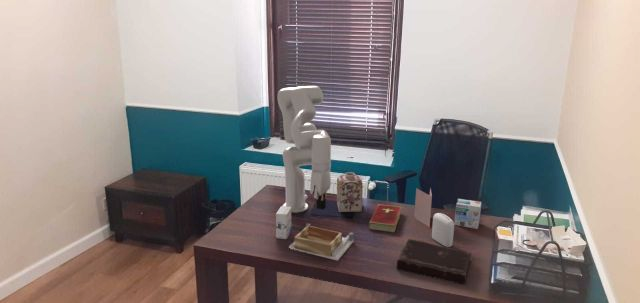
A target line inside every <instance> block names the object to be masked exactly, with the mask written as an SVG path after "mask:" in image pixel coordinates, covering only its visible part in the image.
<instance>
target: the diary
mask: <svg viewBox="0 0 640 303" xmlns="http://www.w3.org/2000/svg"><path fill="white" fill-rule="evenodd" d="M471 256H472V251H471V252H470V251H466V250H461V249H455V248H451V247H446V246H443V245H442V246H441V245H437V244H435V243H434V244H433V243H430V242H427V241H422V240H418V239H417V240H416V239H411V238H408V239H407V241H406V242H405V245H404V246H403V248H402V250H401V252H400V254H399V257H398V258H397V260H396V270H399V271H403V270H404V272H409V273H412V272H413V274H418V275H421V274H422V276H425V275H426V276H425V277H429V276H431V277H430V278H434V277H436V278H435V279H438V278H440V279H439V280H443V279H444V281H447V280H448V282H451V281H453V282H452V283H456V282H457V283H456V284H461V285H464V284H465V285H466V277H467V272H469V268H470V267H471V266H470V265H471V262H472V260H471Z"/></svg>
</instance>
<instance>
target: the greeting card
mask: <svg viewBox="0 0 640 303" xmlns="http://www.w3.org/2000/svg"><path fill="white" fill-rule="evenodd" d="M415 189H416V190H415V201H414V202H415V203H414V215H413V216H414V217H413V218H414V219H415V220H418V221H419V222H421V223H422V224H424V225H425V226H427V227H428V228H430V227H431V226H430V225H431V215H432V214H431V212H432V204H433V201H434V197H433V192H432V189H431V187H430V188H429V189H430V190H429V194H428V193H426V192H424V191H422V190H420V189H419V188H417V187H416V188H415Z"/></svg>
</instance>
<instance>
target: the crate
mask: <svg viewBox="0 0 640 303" xmlns="http://www.w3.org/2000/svg"><path fill="white" fill-rule="evenodd" d="M342 237H343V232H340V231H337V230H331V229H327V228H322V227H317V226H312V225H311V226H309V225H308V226H306V225H305V227H304V228H303V229H302V230H301V231H300V232H299V233H297V234H296V235H295V236H294V241H295V248H296V249H300V250H304V251H308V252H312V253H316V254H320V255H324V256H328V257H331V256H332V253H333V251H334V250H335V249H336V248H337V247H338V246H339V245H340V244H341V242H342Z"/></svg>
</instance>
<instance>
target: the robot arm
mask: <svg viewBox="0 0 640 303" xmlns="http://www.w3.org/2000/svg"><path fill="white" fill-rule="evenodd" d="M323 100H324V93H323V91H322V89H321V88H320V86H318V85H306V86H303V85H302V86H297V87H296V86H295V87H284V88H281V89H280V90H278V92H277V103H278V107H279V109H280V111H281V114H282V115H281V116H282V124H283V135H284V136H283V137H284V140H285V142H286V143H287V144H288V145H294V146H289V147H286V148H284V150H283V151H282V160H283V166H284V177H285V178H284V180H285V181H284V182H285V188H284V189H285V203H283V205H282V206H287V207H291V214H292V213H295V214H296V213H302V212H305V211H307V210H308V209H309V204H308V203H307V202H306V200H307V199H308V196H309V195H307V194H306V191H305V190H306V185H305V184H306V181H305V179H306V178H305V176H306V175H305V172H304V171H303V169H302V168H300V167H302V166H310V165H311V174H310V189H309V193H310V194H311V195H313V199H315V200H316V209H319V210H324V209H326V206H327V202H326V201H327V192H328V191H329V190H330V189H331V182H332V181H331V179H332V178H331V169H332V168H331V167H332V166H331V165H332V159H331V156H332V154H331V152H332V151H331V150H332V147H331V146H332V139H331V136H330V135H329V133H328V131H326V130H325V129H317V127H316V125H315V124H314V123H312V121H313V120H314V119H315V117H316V115H317V110H316V108H315V106H318V105H319V106H320V105H321V104H322V103H323Z"/></svg>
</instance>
